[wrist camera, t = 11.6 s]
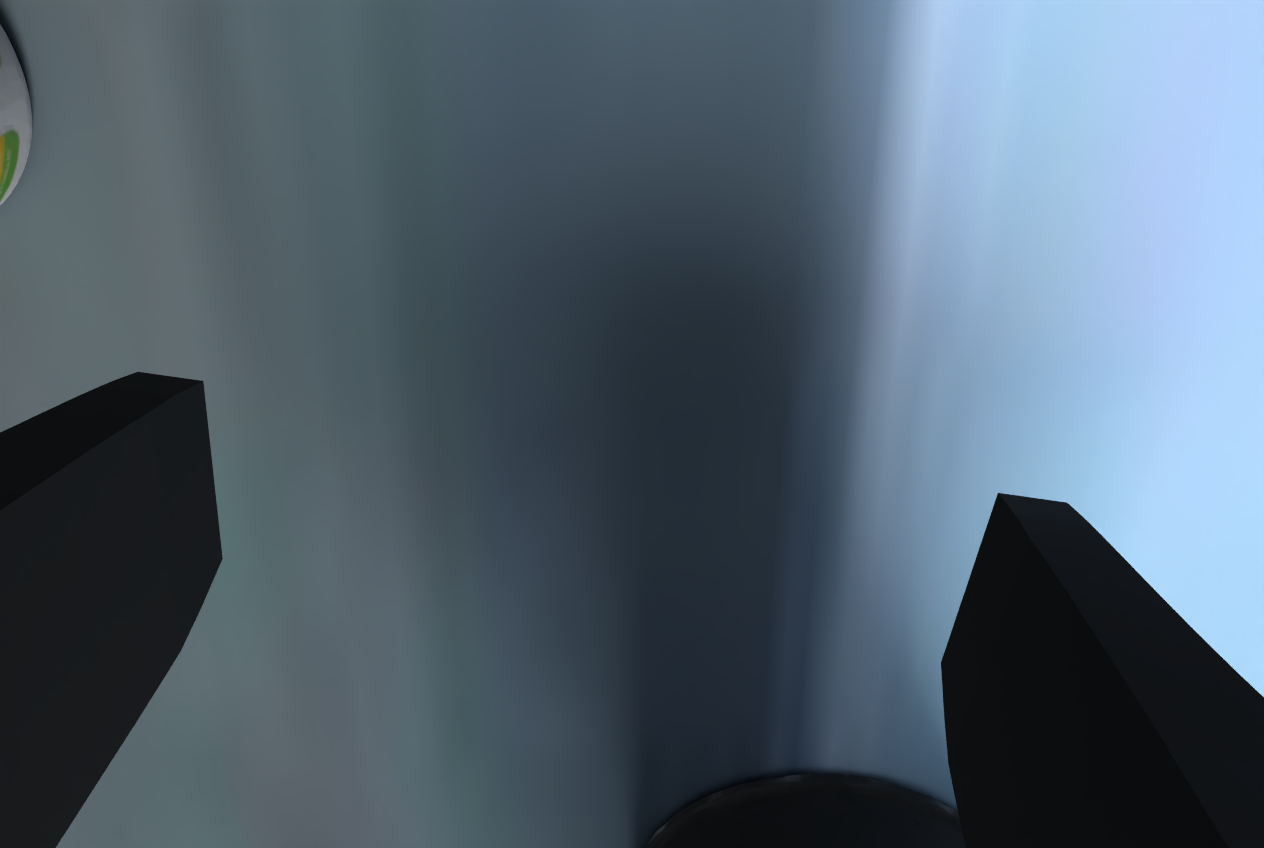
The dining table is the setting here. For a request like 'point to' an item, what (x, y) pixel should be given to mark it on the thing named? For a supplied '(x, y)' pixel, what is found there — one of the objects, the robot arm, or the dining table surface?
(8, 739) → the robot arm
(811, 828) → the milk frother
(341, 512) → the dining table surface
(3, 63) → the supplement bottle
